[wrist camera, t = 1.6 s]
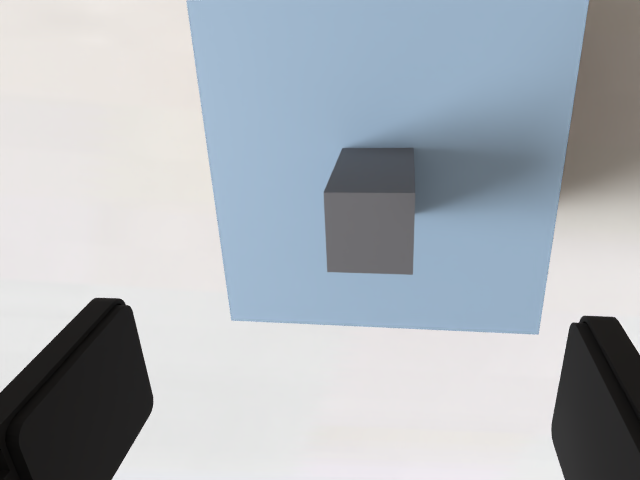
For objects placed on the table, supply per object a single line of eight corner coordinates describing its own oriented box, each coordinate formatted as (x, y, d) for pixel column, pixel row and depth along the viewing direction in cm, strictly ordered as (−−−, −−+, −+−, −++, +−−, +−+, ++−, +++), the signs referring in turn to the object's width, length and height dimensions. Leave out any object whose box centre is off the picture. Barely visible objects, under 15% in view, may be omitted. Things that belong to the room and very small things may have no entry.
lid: (585, -21, 19) (658, -26, 14) (534, 324, 26) (570, 419, 20) (193, 0, 22) (118, 3, 16) (236, 311, 28) (192, 393, 22)
